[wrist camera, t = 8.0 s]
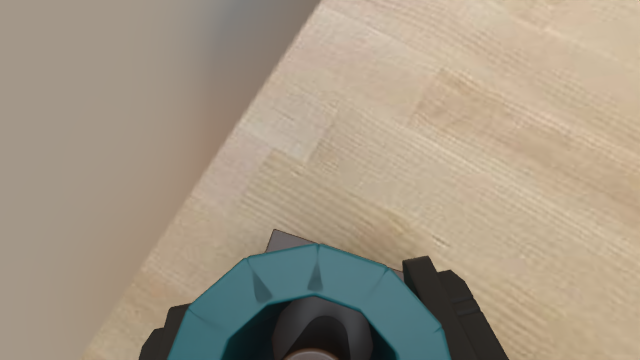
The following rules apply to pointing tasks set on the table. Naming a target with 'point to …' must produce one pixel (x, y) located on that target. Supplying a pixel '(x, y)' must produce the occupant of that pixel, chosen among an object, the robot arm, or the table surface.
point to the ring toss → (318, 323)
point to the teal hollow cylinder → (297, 283)
